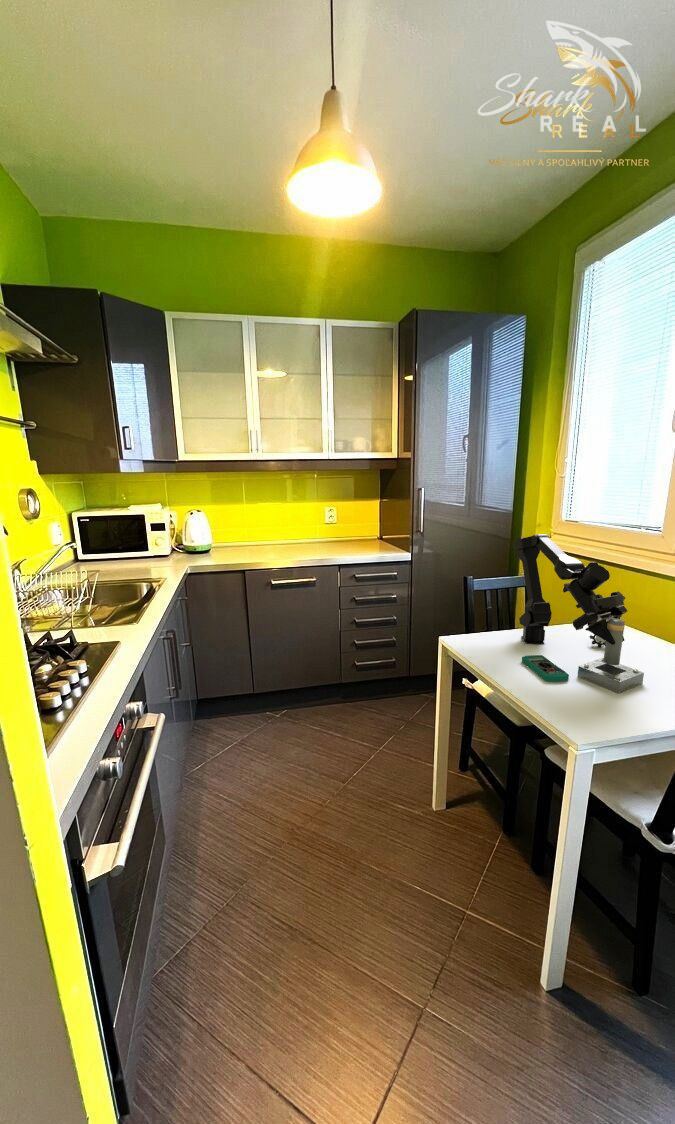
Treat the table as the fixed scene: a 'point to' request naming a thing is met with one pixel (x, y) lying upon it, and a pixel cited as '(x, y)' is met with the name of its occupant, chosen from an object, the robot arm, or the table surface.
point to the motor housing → (610, 675)
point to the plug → (616, 631)
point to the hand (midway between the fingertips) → (618, 642)
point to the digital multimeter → (545, 668)
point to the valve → (596, 641)
